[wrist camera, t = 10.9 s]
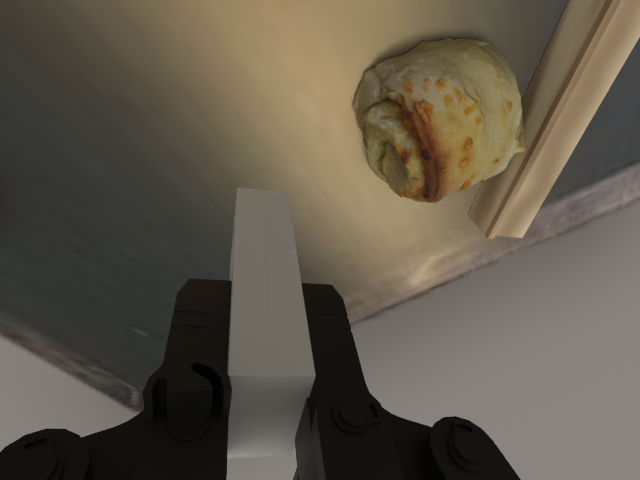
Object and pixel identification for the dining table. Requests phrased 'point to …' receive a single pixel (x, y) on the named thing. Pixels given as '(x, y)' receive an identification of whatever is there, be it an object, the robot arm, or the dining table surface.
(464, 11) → the dining table surface
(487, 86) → the pastry
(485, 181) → the wooden block
